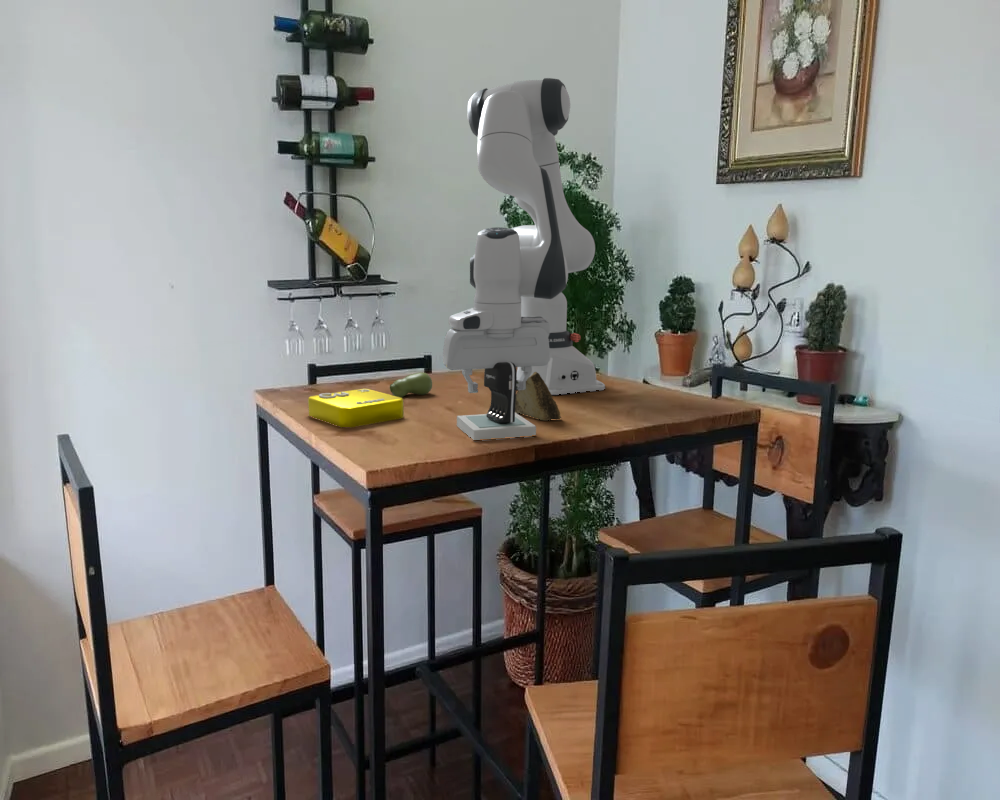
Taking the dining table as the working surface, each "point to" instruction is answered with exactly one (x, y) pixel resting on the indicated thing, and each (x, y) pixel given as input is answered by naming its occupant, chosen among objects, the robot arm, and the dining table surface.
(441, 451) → the dining table surface
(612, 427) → the dining table surface
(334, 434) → the dining table surface
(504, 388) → the battery charger
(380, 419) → the element tile
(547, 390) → the rock
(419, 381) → the pear
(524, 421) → the plate
